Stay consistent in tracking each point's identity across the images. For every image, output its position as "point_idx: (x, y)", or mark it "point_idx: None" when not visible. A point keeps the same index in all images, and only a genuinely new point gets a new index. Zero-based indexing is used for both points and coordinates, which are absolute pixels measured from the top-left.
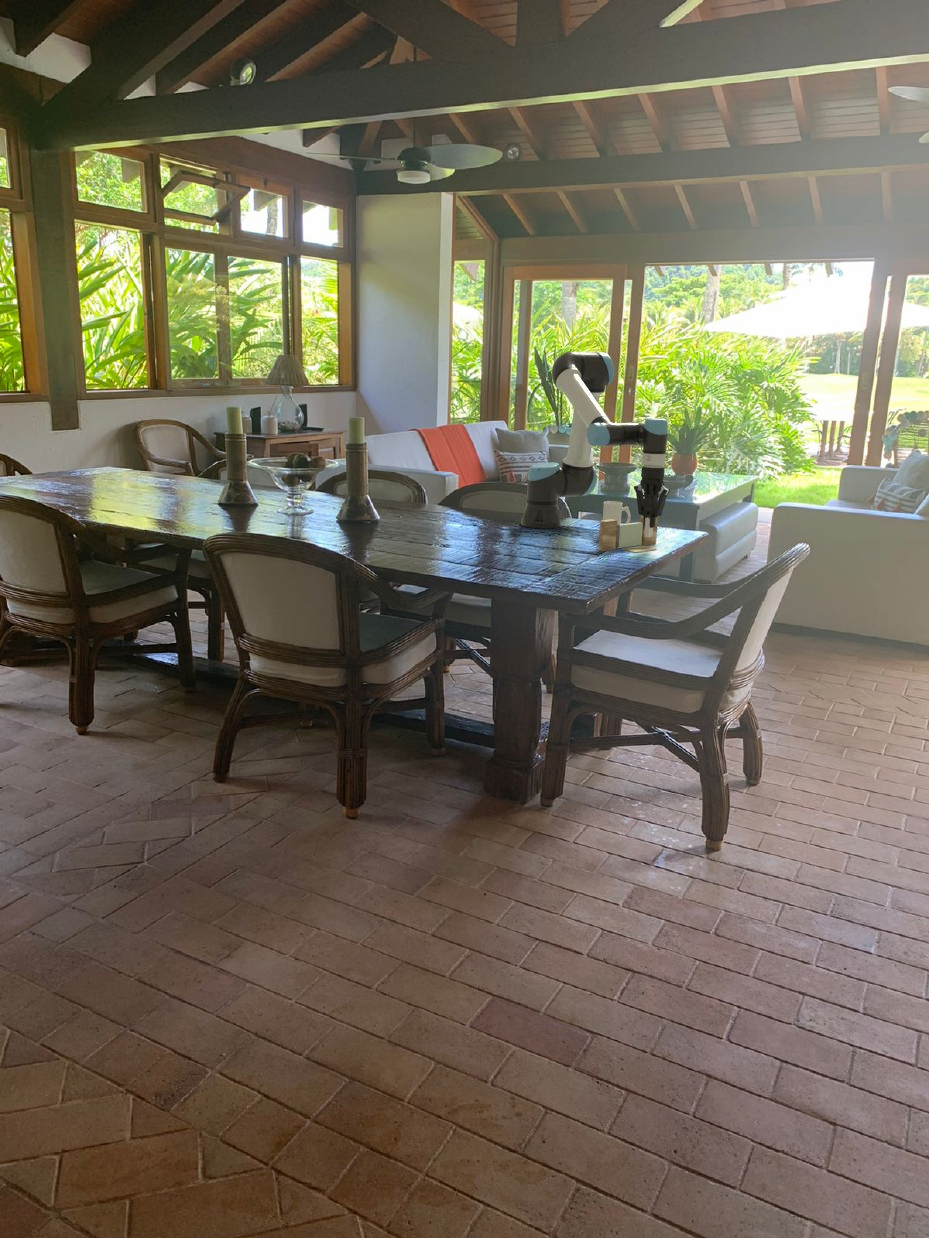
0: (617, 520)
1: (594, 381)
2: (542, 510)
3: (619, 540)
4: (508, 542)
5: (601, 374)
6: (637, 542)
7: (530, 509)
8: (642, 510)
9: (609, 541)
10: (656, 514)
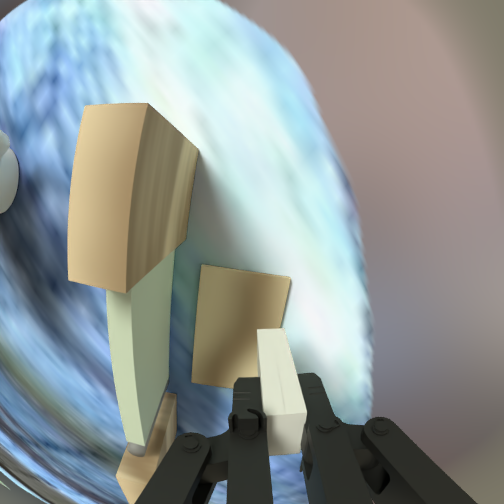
0: None
1: None
2: None
3: (162, 395)
4: (28, 439)
5: None
6: (169, 281)
7: None
8: (177, 464)
9: (170, 438)
10: (371, 468)
